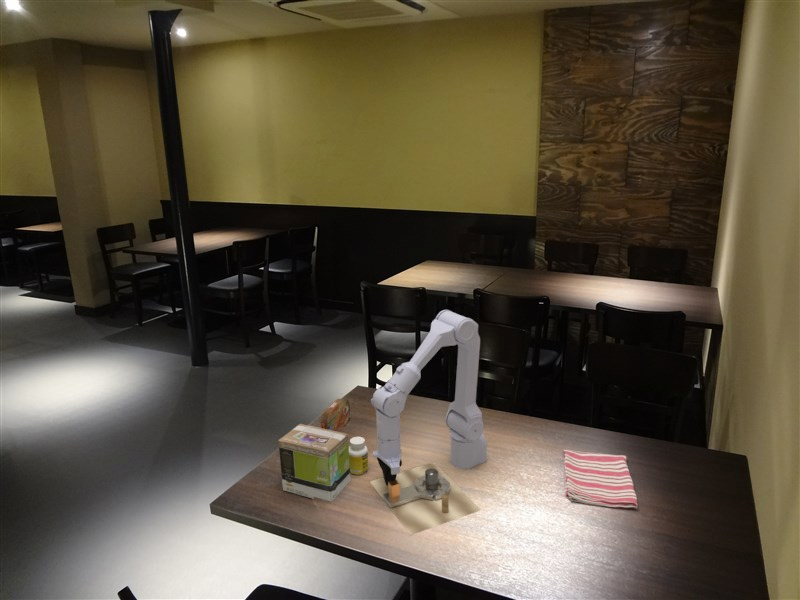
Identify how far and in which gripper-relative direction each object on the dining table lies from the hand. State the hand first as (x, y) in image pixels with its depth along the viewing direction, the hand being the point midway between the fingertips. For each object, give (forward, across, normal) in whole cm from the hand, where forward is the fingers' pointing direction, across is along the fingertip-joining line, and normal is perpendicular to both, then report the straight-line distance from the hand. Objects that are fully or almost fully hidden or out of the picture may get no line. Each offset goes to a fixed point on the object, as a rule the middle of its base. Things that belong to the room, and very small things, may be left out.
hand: (389, 483), depth 140 cm
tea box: (+3, -8, -18) cm, 20 cm away
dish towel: (+4, +8, +54) cm, 54 cm away
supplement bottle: (+3, -12, -6) cm, 14 cm away
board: (+3, +4, +8) cm, 9 cm away
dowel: (+3, +11, +11) cm, 16 cm away
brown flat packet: (+3, -37, -9) cm, 38 cm away
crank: (+2, +3, +6) cm, 7 cm away
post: (+3, +2, +10) cm, 11 cm away
